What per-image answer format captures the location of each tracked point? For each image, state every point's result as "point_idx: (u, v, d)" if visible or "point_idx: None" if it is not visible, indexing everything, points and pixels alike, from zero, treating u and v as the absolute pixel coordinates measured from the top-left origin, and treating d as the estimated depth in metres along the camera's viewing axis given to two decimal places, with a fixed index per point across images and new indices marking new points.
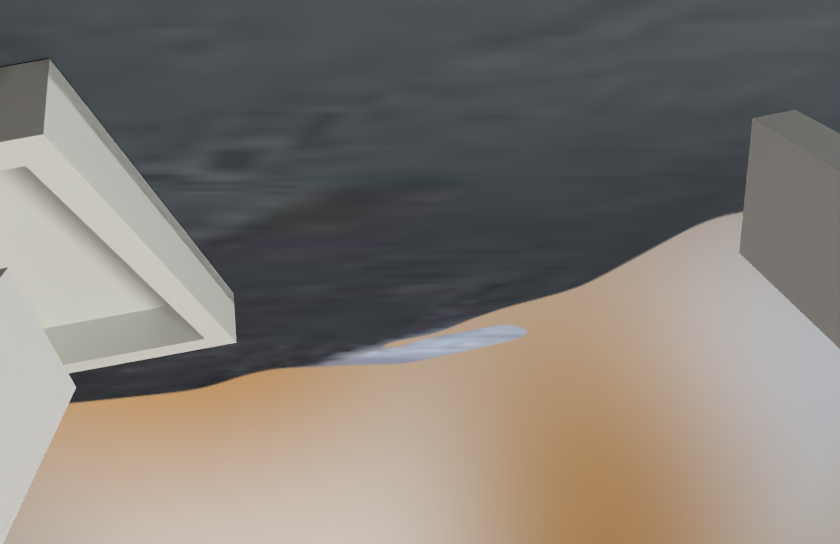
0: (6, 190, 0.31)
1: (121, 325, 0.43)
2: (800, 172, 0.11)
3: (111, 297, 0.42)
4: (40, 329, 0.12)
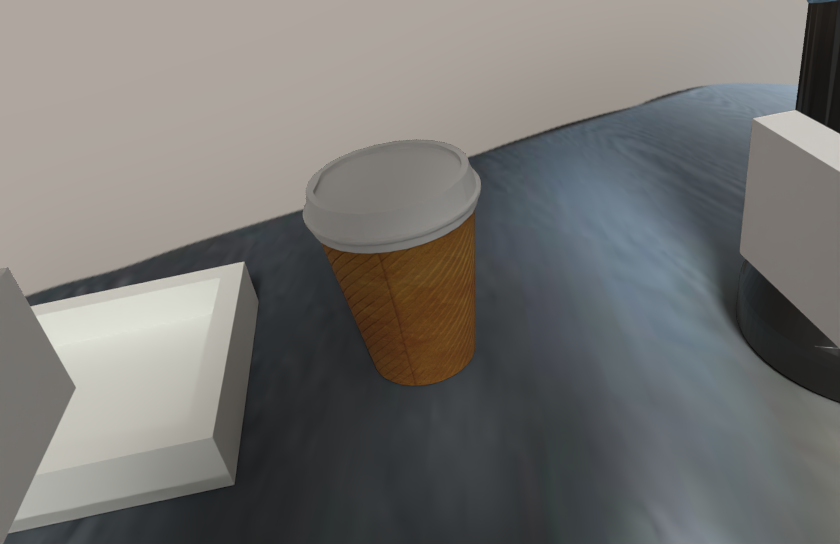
0: (134, 426, 0.40)
1: None
2: (801, 172, 0.11)
3: None
4: (40, 330, 0.12)
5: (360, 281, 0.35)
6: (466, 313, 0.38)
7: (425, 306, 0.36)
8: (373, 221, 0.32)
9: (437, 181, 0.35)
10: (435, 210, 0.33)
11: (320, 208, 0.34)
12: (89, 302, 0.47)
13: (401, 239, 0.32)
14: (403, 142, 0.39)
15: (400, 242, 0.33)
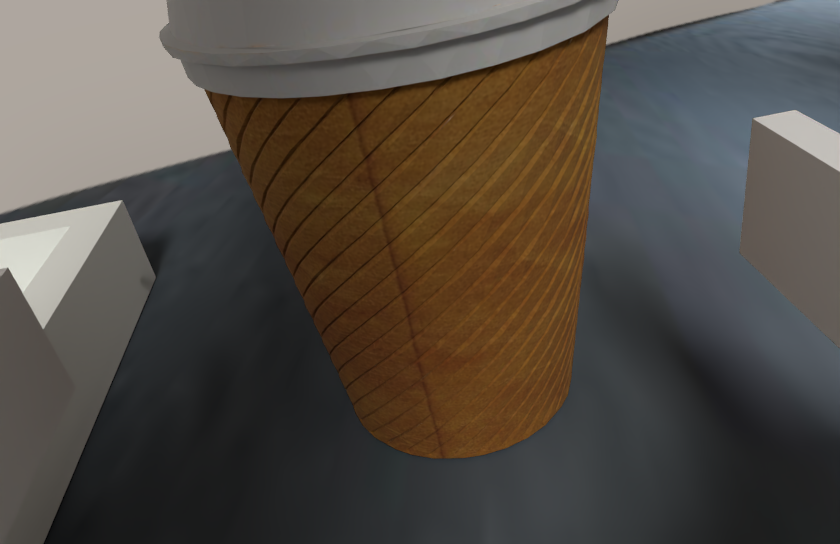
0: None
1: None
2: (800, 172, 0.11)
3: None
4: (40, 330, 0.12)
5: (303, 193, 0.13)
6: (568, 293, 0.16)
7: (477, 269, 0.14)
8: None
9: None
10: None
11: None
12: None
13: (419, 40, 0.10)
14: None
15: (416, 54, 0.10)
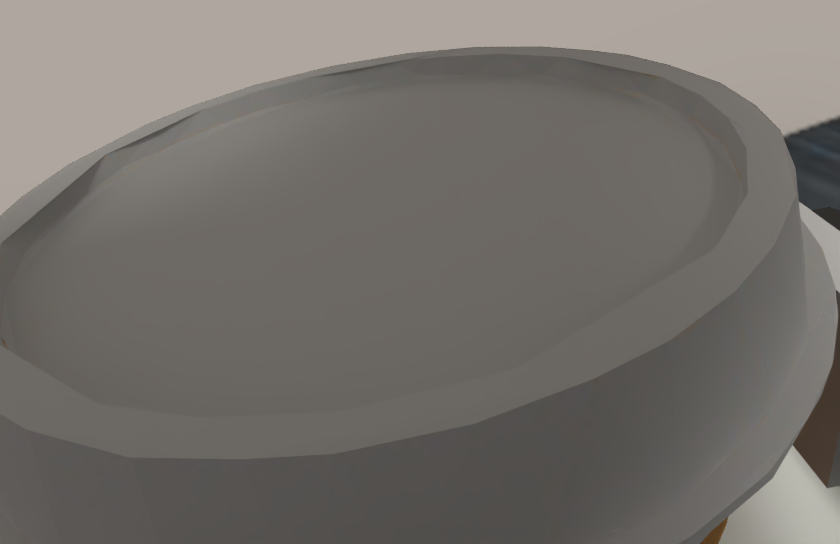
0: None
1: None
2: None
3: None
4: None
5: None
6: None
7: None
8: (234, 516, 0.04)
9: (624, 211, 0.07)
10: (681, 422, 0.05)
11: None
12: None
13: None
14: (432, 56, 0.11)
15: None
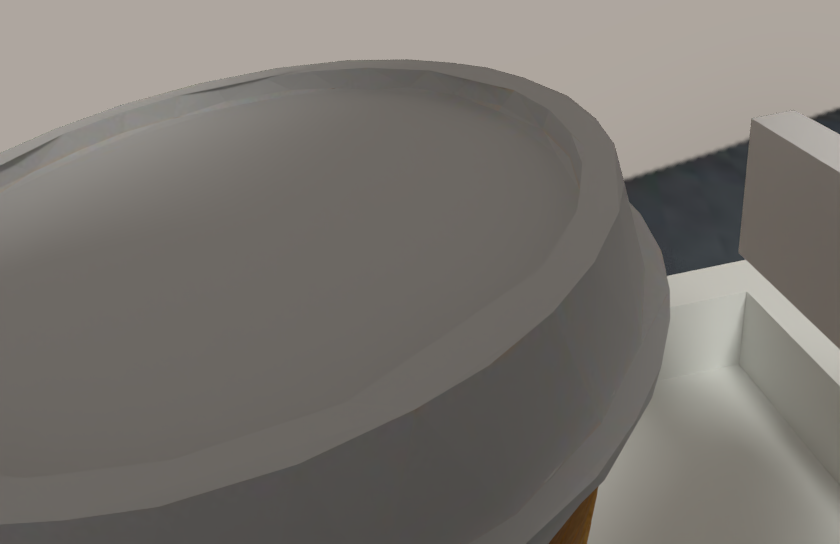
0: None
1: None
2: (800, 172, 0.11)
3: None
4: None
5: None
6: None
7: None
8: None
9: (473, 228, 0.07)
10: (509, 439, 0.05)
11: None
12: None
13: None
14: (302, 70, 0.11)
15: None
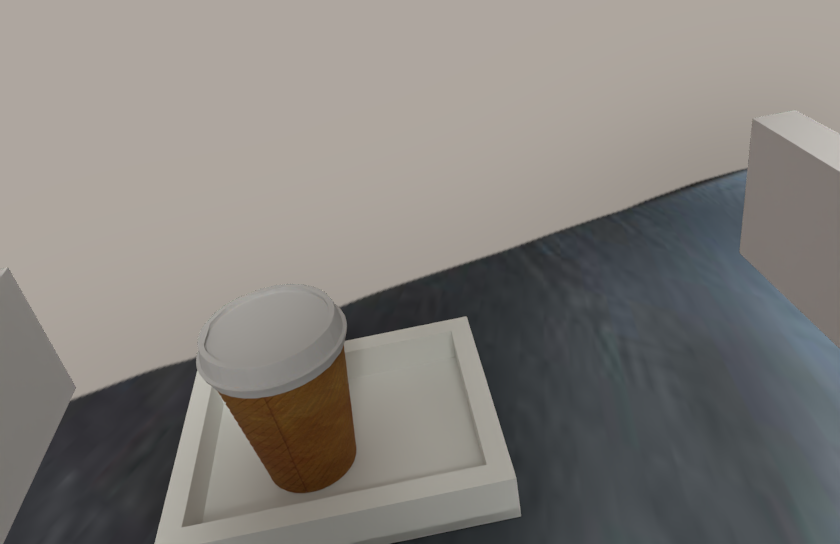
0: (412, 463, 0.47)
1: (204, 482, 0.47)
2: (801, 172, 0.11)
3: (242, 488, 0.48)
4: (40, 330, 0.12)
5: (250, 417, 0.42)
6: (344, 428, 0.45)
7: (308, 431, 0.43)
8: (257, 374, 0.39)
9: (309, 329, 0.42)
10: (308, 358, 0.40)
11: (210, 363, 0.40)
12: None
13: (281, 386, 0.39)
14: (280, 287, 0.46)
15: (281, 388, 0.40)
